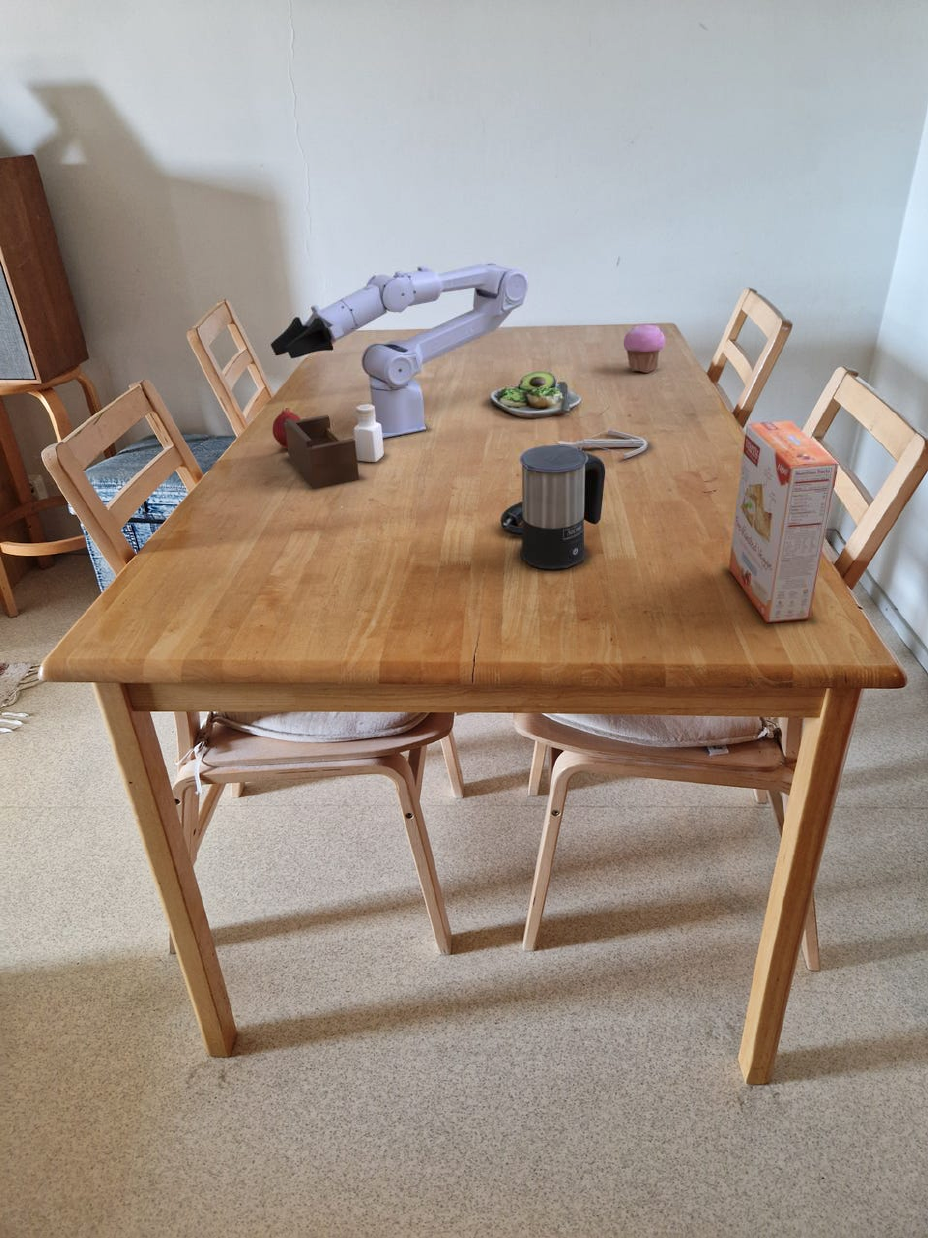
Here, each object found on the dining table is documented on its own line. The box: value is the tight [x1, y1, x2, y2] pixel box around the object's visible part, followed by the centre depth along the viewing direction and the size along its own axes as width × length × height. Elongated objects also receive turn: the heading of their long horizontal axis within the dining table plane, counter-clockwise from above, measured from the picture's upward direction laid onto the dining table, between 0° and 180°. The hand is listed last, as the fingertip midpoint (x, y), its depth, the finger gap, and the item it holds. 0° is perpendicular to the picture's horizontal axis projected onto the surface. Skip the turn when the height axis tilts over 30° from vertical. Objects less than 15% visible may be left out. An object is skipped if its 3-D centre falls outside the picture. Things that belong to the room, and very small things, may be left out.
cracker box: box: [728, 420, 839, 624], centre depth 110 cm, size 14×6×21 cm, turn 5°
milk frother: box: [500, 444, 606, 570], centre depth 126 cm, size 14×16×15 cm
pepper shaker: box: [353, 403, 385, 463], centre depth 158 cm, size 4×4×10 cm
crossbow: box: [557, 428, 648, 460], centre depth 160 cm, size 16×13×2 cm
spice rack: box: [284, 414, 360, 490], centre depth 155 cm, size 8×15×8 cm, turn 25°
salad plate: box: [489, 371, 581, 419], centre depth 180 cm, size 19×18×5 cm
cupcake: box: [623, 324, 666, 374], centre depth 196 cm, size 9×9×10 cm
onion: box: [272, 406, 302, 449], centre depth 164 cm, size 6×6×8 cm
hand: (281, 351), depth 154 cm, fingers open, 7 cm apart
